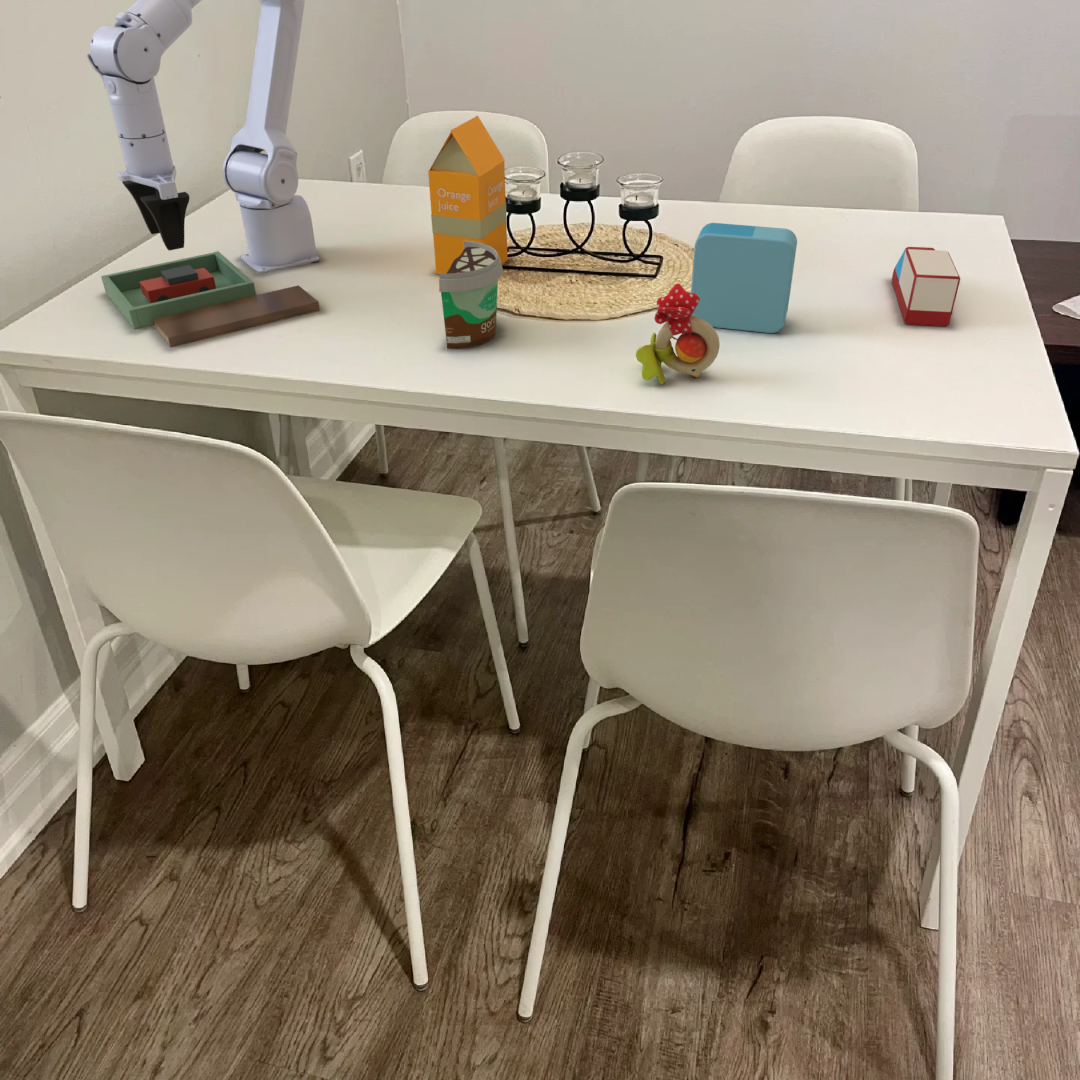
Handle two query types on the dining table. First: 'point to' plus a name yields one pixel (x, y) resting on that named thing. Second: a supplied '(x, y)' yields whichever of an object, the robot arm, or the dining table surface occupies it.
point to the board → (235, 315)
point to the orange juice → (467, 194)
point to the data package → (743, 276)
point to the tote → (142, 312)
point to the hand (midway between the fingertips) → (167, 240)
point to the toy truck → (926, 286)
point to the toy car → (177, 283)
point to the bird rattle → (692, 345)
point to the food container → (471, 296)
